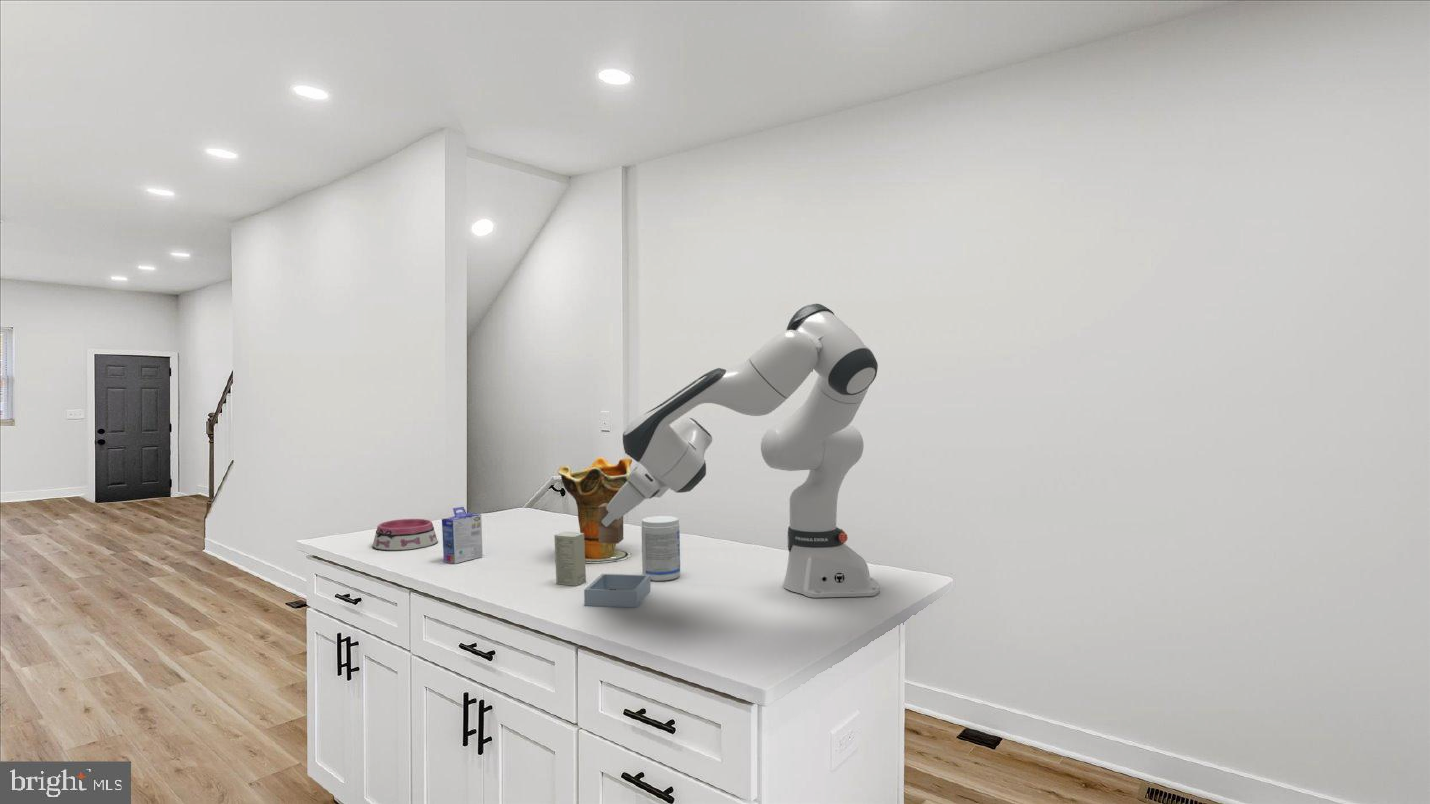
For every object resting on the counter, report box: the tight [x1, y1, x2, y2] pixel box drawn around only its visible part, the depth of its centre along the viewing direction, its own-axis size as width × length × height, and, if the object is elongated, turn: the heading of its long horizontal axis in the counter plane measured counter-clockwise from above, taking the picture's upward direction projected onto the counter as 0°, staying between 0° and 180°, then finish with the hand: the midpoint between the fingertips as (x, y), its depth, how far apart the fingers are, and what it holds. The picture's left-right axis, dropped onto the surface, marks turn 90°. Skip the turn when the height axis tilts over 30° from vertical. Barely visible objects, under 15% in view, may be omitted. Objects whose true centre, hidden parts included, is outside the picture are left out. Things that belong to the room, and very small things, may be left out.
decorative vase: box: [557, 456, 633, 564], centre depth 207 cm, size 21×23×28 cm
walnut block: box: [598, 503, 624, 545], centre depth 162 cm, size 4×4×8 cm
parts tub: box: [583, 573, 652, 608], centre depth 168 cm, size 12×14×4 cm
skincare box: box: [553, 531, 587, 587], centre depth 180 cm, size 6×4×12 cm
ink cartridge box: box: [441, 506, 484, 565], centre depth 205 cm, size 10×6×14 cm, turn 148°
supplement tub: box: [641, 515, 681, 582], centre depth 185 cm, size 10×10×15 cm
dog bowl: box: [372, 518, 439, 552], centre depth 225 cm, size 18×19×7 cm
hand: (608, 521), depth 162 cm, fingers closed on walnut block, 4 cm apart
